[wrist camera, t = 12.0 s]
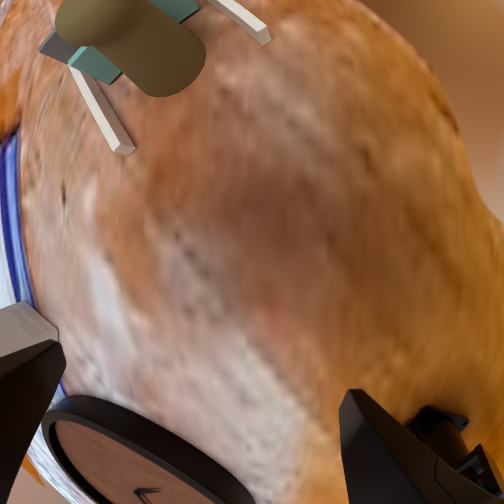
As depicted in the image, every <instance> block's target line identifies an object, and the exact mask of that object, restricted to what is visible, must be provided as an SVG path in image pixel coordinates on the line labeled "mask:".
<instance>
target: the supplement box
mask: <svg viewBox="0 0 504 504" xmlns="http://www.w3.org/2000/svg"><path fill="white" fill-rule="evenodd" d="M48 339H53V340H56V341H58V330H57V329H56V328H55V327H54V326H53V325H52V324H50V323H49V322H48V321H47V320H46V319H45V318H44V317H42V316H41V315H40V314H39V313H38V312H37V311H36V310H34V309H33V308H32V307H31V306H30V305H29V304H28V303H27V302H26V301H21V302H18V303H16V304H13V305H10V306H8V307H5V308H2V309H0V357H2V356H5V355H7V354H10V353H13V352H16V351H18V350H21V349H24V348H26V347H29V346H32V345H34V344H37V343H40V342H42V341H45V340H48Z"/></svg>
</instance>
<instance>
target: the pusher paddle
mask: <svg viewBox="0 0 504 504" xmlns="http://www.w3.org/2000/svg"><path fill="white" fill-rule="evenodd" d="M148 1H150V2H151V3H152V4H154V5H155V6H157V7H158V8H159V9H161V10H162V11H164V12H165V13H166V14H168V15H169V16H170V17H172V18H173V19H174V20H176V21H177V22H178V23H179V22H180V21H182V20H183V19H185V18H186V17H187V16H189V15H190V14H192V13H193V12H194V11H196V10H197V9H199V6H198V5H197V3H196V2H195V1H194V0H148ZM68 63H69V65H70V67H73V68H75V69H77V70H79V71H81V72H83V73H86V74H88V75H90V76H92V77H94V78H96V79H98V80H100V81H102V82H104V83H106V84H108V85H109V84H110V83H111V82H112V81H113V80H114V79H115V78H116V77H117V76H118V75H119V74H120V73H121V72H122V71H120V70H119V69H118V68H117V67H116V66H115V65H114V64H113V63H112V62H110V61H109V60H108V59H107V58H106V57H105V56H104V55H103V54H101V53H100V52H99V51H98V50H97V49H96V48H95V47H94V46H90V47H80V48H79V49H78V50H77V52H76V53H75V54H74V55H73V56H72V57H71V58H70V60H69V61H68Z"/></svg>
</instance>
